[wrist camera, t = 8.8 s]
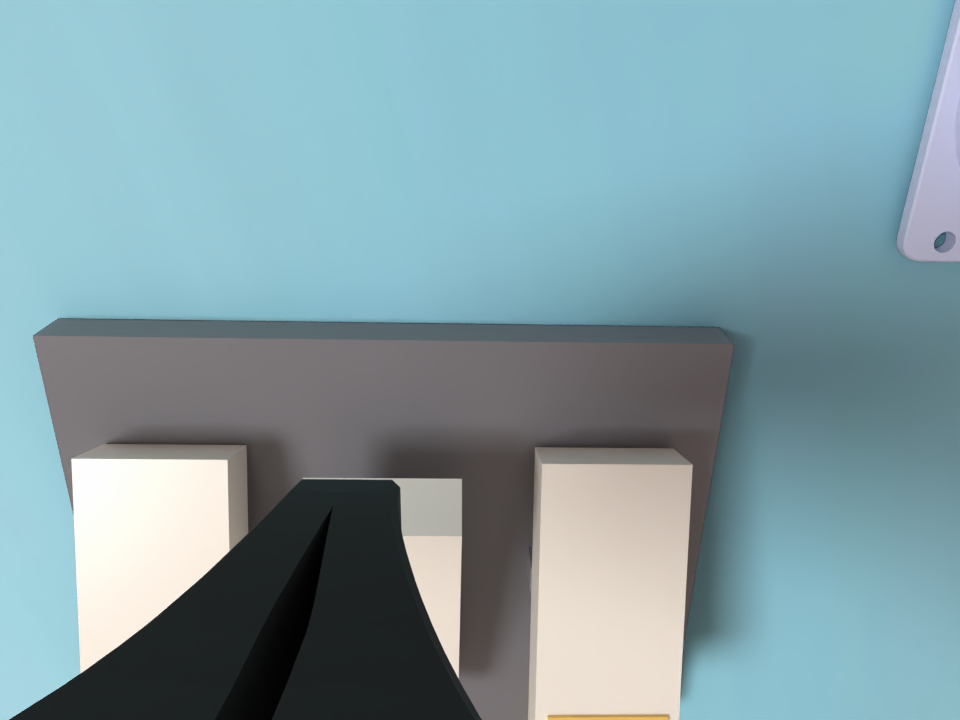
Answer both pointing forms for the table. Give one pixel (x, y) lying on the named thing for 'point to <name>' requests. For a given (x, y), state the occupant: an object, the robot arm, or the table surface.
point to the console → (403, 425)
